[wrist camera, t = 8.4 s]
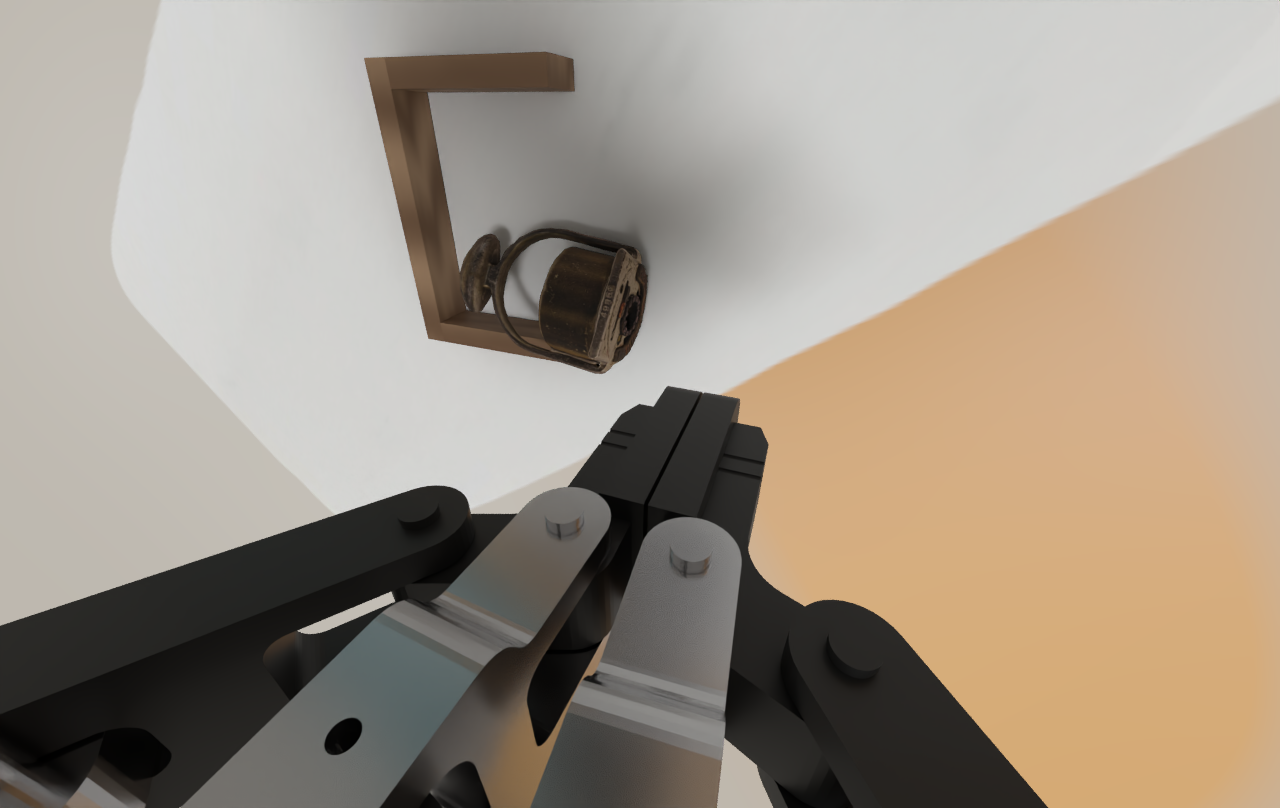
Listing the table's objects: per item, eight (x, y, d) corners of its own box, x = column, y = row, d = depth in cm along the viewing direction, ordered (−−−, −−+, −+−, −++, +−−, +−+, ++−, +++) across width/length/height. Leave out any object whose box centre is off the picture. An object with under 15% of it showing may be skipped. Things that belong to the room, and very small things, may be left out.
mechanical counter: (668, 219, 31) (681, 369, 30) (523, 267, 37) (532, 392, 37) (608, 170, 25) (623, 357, 24) (446, 237, 31) (455, 387, 30)
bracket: (402, 64, 30) (363, 58, 27) (573, 59, 26) (546, 51, 24) (454, 325, 39) (428, 338, 36) (586, 347, 35) (567, 363, 33)
